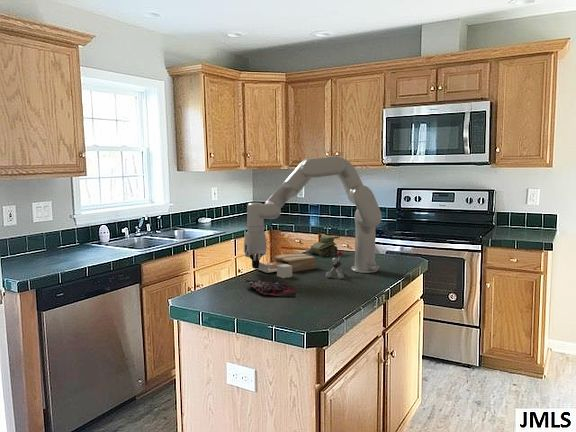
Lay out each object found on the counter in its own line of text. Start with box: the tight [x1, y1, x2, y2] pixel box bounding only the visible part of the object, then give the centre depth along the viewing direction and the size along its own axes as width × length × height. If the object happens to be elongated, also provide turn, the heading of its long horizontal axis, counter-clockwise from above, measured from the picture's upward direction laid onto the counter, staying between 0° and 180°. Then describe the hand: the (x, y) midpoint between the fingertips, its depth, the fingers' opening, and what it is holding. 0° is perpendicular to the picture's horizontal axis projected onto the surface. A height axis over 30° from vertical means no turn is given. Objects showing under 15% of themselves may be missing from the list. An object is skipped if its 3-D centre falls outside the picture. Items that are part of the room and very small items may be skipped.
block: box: [276, 264, 293, 279], centre depth 221 cm, size 5×5×5 cm
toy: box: [308, 235, 340, 258], centre depth 272 cm, size 10×18×10 cm, turn 130°
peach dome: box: [266, 261, 282, 269], centre depth 232 cm, size 7×7×2 cm
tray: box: [257, 261, 284, 274], centre depth 232 cm, size 11×14×4 cm
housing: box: [273, 252, 317, 273], centre depth 239 cm, size 14×15×5 cm
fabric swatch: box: [244, 279, 297, 298], centre depth 199 cm, size 20×21×3 cm
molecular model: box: [325, 250, 345, 280], centre depth 223 cm, size 8×12×11 cm
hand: (255, 268), depth 227 cm, fingers closed
